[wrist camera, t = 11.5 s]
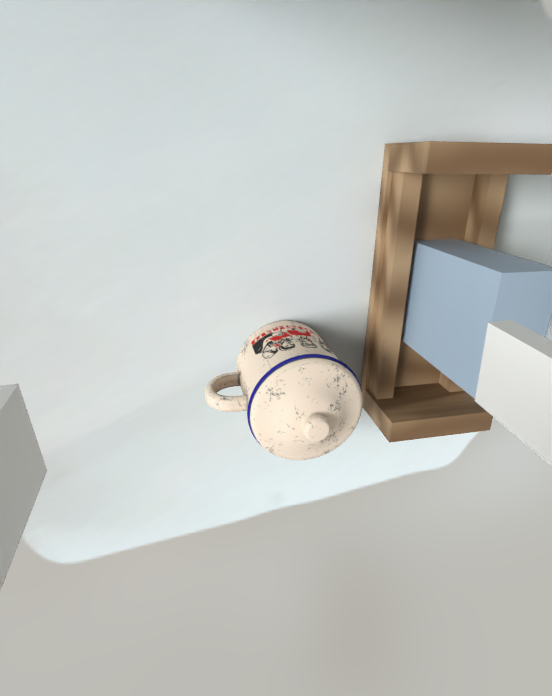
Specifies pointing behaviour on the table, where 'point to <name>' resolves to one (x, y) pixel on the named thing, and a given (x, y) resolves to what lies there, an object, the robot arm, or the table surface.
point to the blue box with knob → (469, 303)
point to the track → (394, 268)
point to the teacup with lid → (291, 391)
